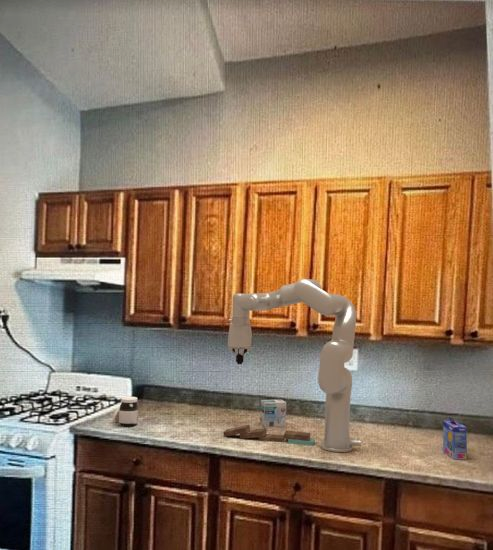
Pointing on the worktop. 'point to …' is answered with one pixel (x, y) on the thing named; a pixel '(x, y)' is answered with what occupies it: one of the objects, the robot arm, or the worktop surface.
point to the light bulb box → (273, 413)
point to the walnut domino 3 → (272, 438)
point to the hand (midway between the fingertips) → (239, 363)
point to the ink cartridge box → (455, 439)
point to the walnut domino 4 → (297, 435)
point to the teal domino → (302, 442)
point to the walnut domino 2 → (254, 433)
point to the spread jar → (127, 412)
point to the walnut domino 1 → (236, 430)
